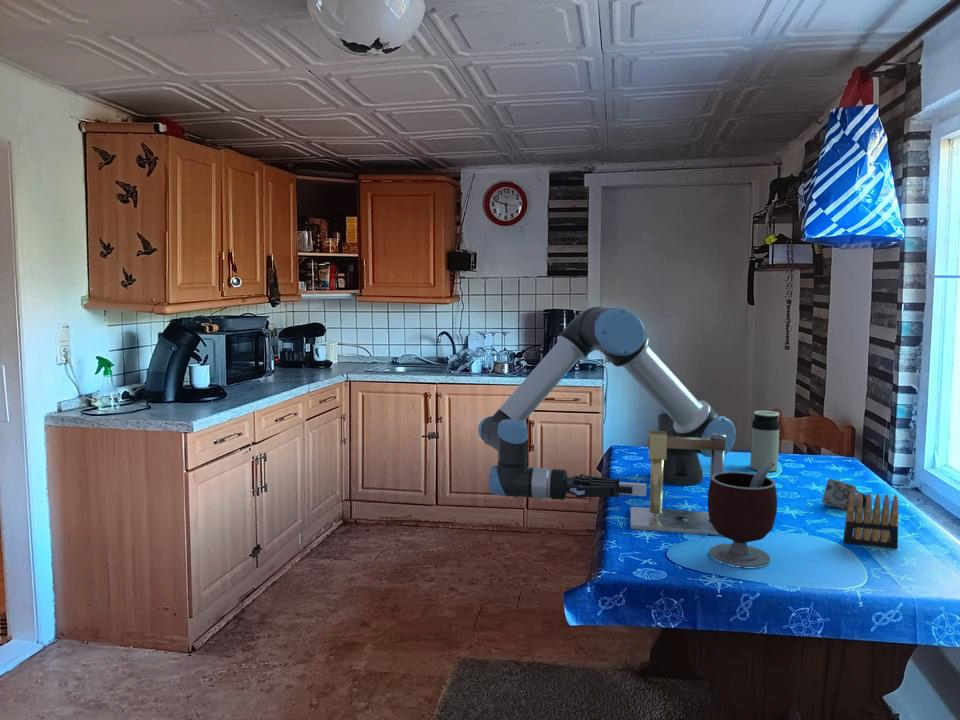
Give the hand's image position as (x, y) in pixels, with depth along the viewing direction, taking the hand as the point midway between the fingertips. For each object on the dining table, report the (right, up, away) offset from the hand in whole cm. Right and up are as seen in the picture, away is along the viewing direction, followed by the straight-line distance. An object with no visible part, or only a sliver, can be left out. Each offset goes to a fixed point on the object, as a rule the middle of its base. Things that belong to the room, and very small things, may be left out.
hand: (646, 489), depth 176 cm
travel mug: (+49, -3, +50) cm, 70 cm away
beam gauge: (+8, -8, -1) cm, 12 cm away
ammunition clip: (+47, -10, -14) cm, 50 cm away
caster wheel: (+56, -7, +14) cm, 59 cm away
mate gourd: (+16, -11, -22) cm, 29 cm away
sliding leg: (+3, -6, +1) cm, 7 cm away
